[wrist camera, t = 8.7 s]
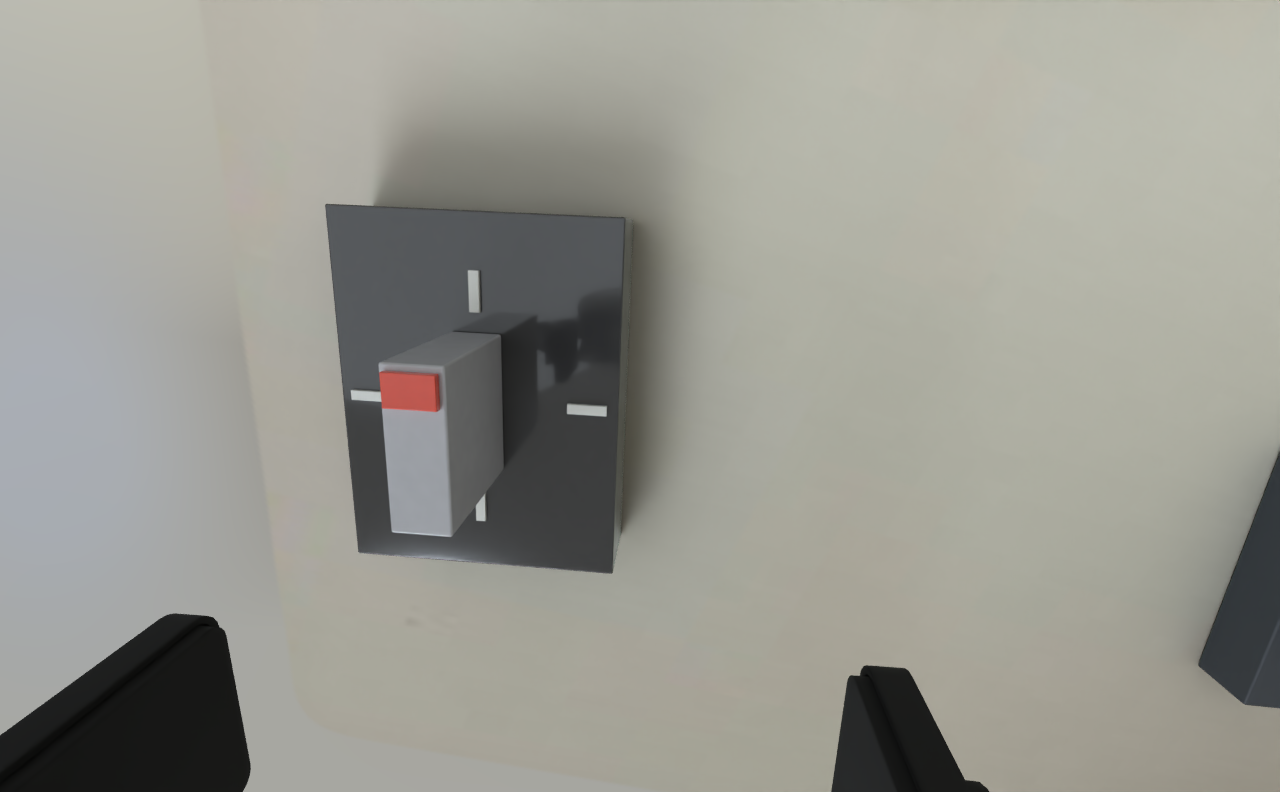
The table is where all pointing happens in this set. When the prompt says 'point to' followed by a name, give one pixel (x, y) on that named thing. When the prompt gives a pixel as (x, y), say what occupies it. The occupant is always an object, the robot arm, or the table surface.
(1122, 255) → the table surface
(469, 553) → the panel
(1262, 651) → the stop block
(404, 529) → the hob knob
